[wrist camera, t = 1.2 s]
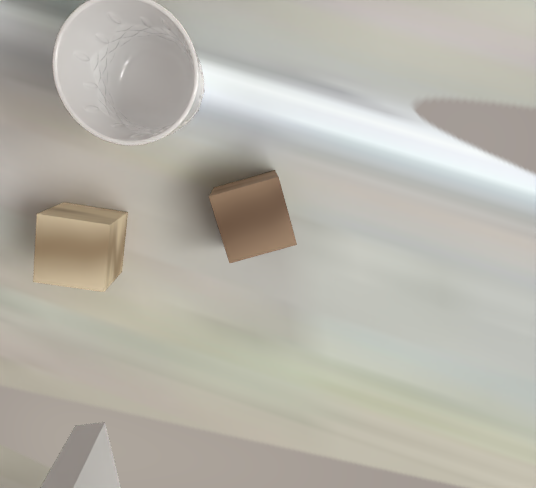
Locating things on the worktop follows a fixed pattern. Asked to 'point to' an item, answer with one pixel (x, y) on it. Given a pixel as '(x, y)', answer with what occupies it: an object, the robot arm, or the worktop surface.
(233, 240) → the walnut block
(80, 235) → the maple block
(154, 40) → the white cup
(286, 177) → the worktop surface
